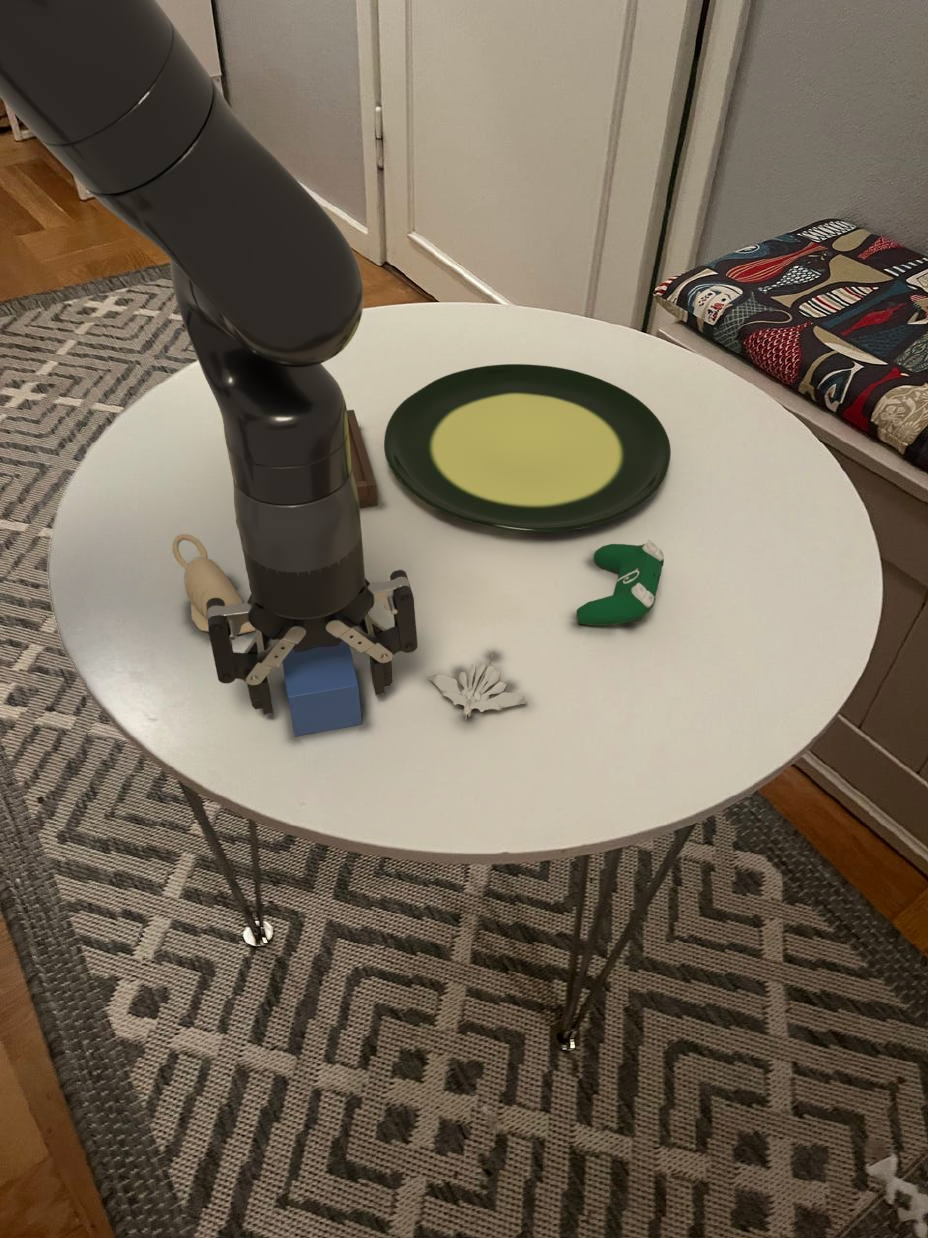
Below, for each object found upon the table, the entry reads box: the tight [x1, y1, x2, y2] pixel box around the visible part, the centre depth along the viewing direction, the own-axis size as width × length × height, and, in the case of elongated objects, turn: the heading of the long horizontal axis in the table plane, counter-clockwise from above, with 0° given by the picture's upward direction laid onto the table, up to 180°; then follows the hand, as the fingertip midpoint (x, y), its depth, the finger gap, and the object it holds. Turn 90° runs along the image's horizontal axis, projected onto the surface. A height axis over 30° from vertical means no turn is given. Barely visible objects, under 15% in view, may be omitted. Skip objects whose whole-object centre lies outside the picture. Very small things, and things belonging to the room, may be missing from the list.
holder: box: [347, 409, 378, 509], centre depth 91 cm, size 11×13×2 cm
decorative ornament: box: [171, 533, 257, 635], centre depth 77 cm, size 4×8×5 cm, turn 29°
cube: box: [281, 641, 363, 737], centre depth 70 cm, size 5×5×4 cm
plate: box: [383, 363, 672, 533], centre depth 94 cm, size 28×28×2 cm
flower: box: [427, 652, 528, 720], centre depth 73 cm, size 8×8×3 cm
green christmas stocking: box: [576, 539, 665, 626], centre depth 80 cm, size 9×4×6 cm
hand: (323, 695), depth 71 cm, fingers open, 8 cm apart
